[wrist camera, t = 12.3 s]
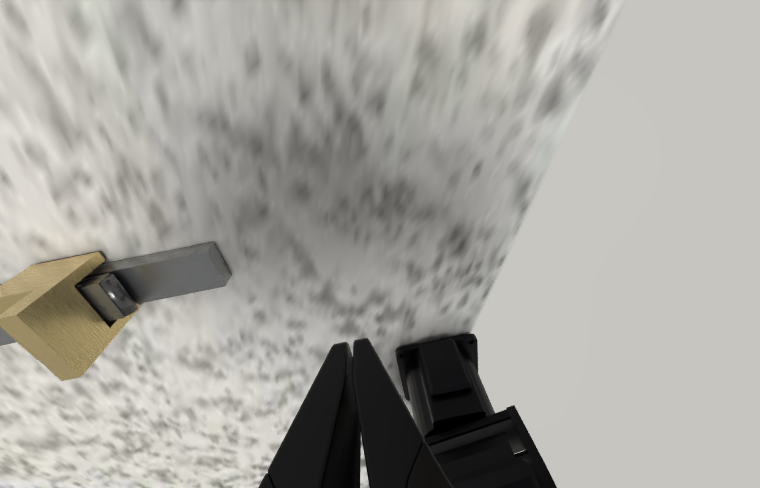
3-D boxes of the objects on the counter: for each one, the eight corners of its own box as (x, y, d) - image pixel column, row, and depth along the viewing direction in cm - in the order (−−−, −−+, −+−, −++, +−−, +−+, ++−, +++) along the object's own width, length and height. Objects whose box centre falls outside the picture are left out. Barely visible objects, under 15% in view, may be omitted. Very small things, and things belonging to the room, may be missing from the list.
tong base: (211, 236, 19) (203, 246, 17) (233, 279, 20) (227, 290, 19) (-124, 304, 19) (-152, 318, 18) (-75, 340, 20) (-98, 355, 19)
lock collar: (98, 251, 18) (15, 315, 14) (140, 306, 20) (80, 377, 16) (31, 265, 18) (-74, 333, 14) (80, 318, 20) (4, 392, 16)
